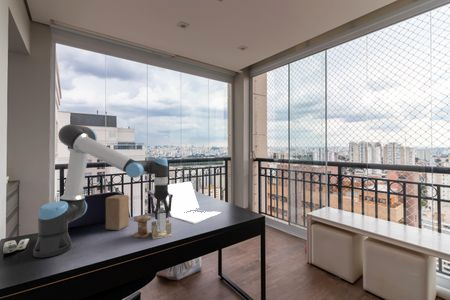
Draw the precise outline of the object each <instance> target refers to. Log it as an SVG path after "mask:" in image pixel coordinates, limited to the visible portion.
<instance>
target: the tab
mask: <svg viewBox="0 0 450 300" xmlns="http://www.w3.org/2000/svg"><path fill="white" fill-rule="evenodd" d="M158 213H159V225H158V230H159V231H165V230H166V224H165V208H164V207H160V208H158Z"/></svg>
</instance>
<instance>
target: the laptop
mask: <svg viewBox="0 0 450 300" xmlns="http://www.w3.org/2000/svg"><path fill="white" fill-rule="evenodd" d="M167 185H168V193H169V194H172V195H173V197H172V202H171V211H169V212H168V213H169V215H170V217H171V218H173V219H176V218H177V219H178V220H180V221H184V222H186V223H190V224H193V225H196V224H197V223H198V224H199V223H200V222H202V221H204V220H207V219H210V218H212V217H214V216H217V215H219V214H222V212H221V211H206V210H205V211H206V212H205V211H204V212H205V213H204V212H202V213H201V212H197V211H196V212H195V211H191V212H187V211H190V210H197V209H200V205H199V202H198V200H197V196H196V194H195V193H196V192H195V190H194V187H193V184H192V181H185V182H178V183H171V184H167ZM166 204H167V206H168V205H169V195H168V196H167V198H166ZM196 208H197V209H196ZM184 212H185V213H184ZM186 212H187V213H186ZM193 212H194V213H193ZM177 219H176V220H177Z"/></svg>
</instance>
